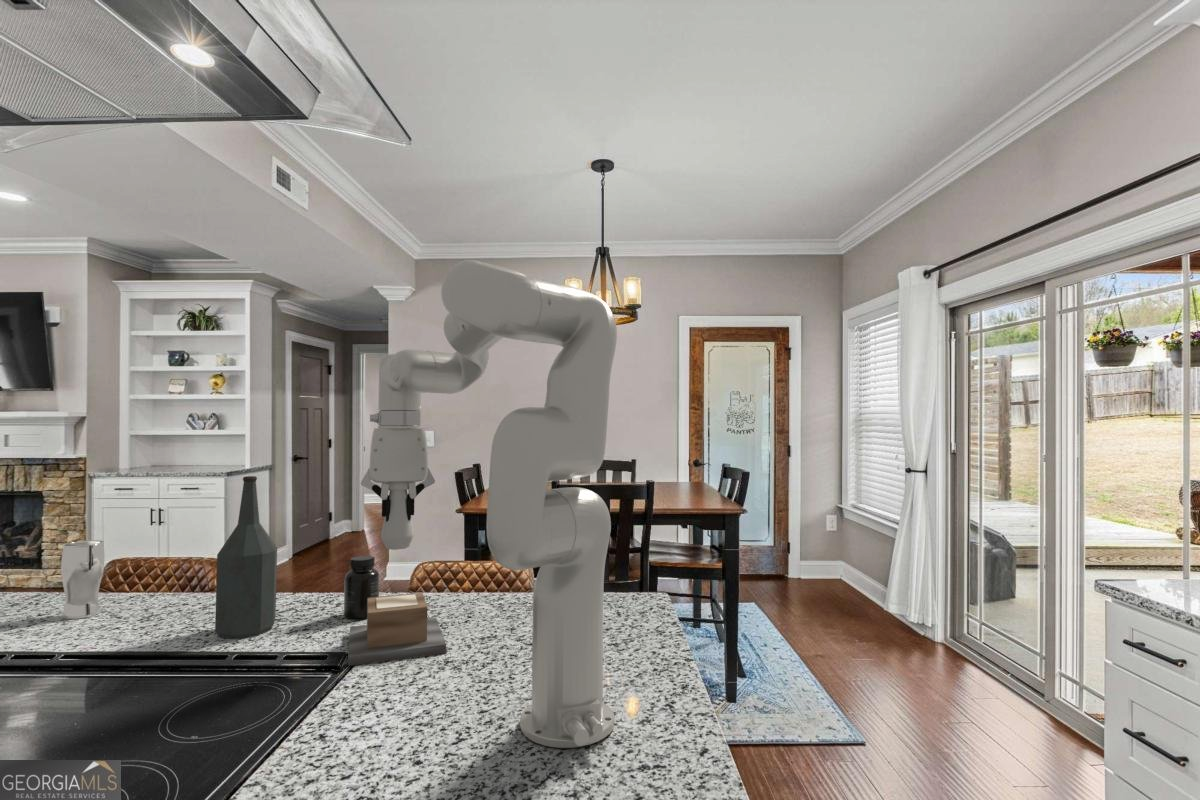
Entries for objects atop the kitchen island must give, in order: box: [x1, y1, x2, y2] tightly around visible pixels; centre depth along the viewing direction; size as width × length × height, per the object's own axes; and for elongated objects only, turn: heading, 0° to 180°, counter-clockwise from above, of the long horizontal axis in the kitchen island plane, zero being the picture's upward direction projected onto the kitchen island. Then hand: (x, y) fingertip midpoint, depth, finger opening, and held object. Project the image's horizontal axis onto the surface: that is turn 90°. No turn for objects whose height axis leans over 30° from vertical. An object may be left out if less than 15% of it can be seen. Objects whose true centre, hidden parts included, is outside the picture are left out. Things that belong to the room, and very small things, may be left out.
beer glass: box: [60, 539, 105, 620], centre depth 128 cm, size 7×7×15 cm
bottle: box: [214, 475, 278, 640], centre depth 119 cm, size 10×10×30 cm
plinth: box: [347, 592, 447, 667], centre depth 112 cm, size 16×16×8 cm
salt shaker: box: [380, 482, 415, 551], centre depth 112 cm, size 6×6×13 cm
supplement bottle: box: [343, 555, 380, 621], centre depth 128 cm, size 7×7×12 cm
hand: (397, 519), depth 112 cm, fingers closed on salt shaker, 3 cm apart
